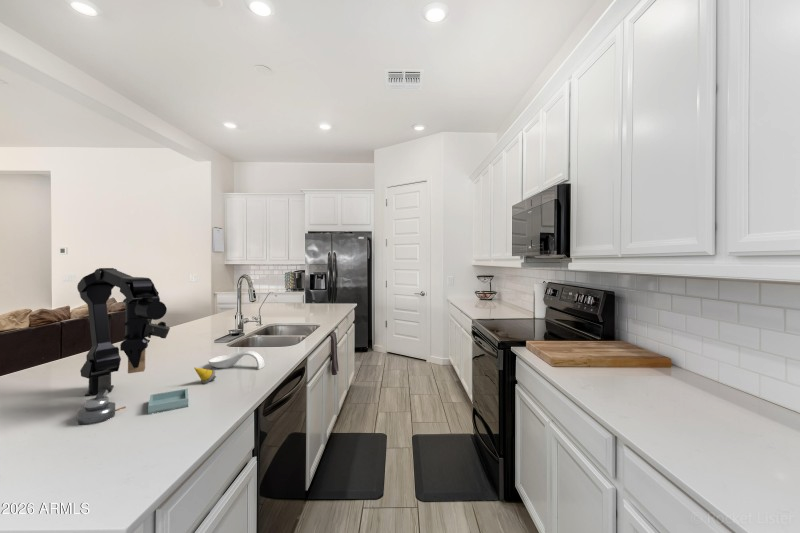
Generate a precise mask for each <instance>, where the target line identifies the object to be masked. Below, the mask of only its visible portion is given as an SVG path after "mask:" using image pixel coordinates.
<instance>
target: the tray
mask: <svg viewBox="0 0 800 533" xmlns="http://www.w3.org/2000/svg"><path fill="white" fill-rule="evenodd" d="M188 407H189V389H188V388H182V389H176V390H170V391H165V392H164V391H163V392H160V393H153V394H150V395H149V399H148V407H147V415H148V414H149V415H152V413H154V414H158V413H157V412H159V413H163V411H164V412H168V411H173V410H179V409H183V408H188Z"/></svg>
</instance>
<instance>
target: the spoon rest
mask: <svg viewBox="0 0 800 533" xmlns="http://www.w3.org/2000/svg"><path fill="white" fill-rule="evenodd" d="M244 356H251V357H253V358H254V359H255V362H256V367H257V370H261V369H263V368H264V367H265V366H266V364H265V360H264V358H263V357H262V356H261V354H259V353H258V352H256V351H253V350H245V351H243V352H239V353H234V354H224V355H219V356H215V357H213V358H211V359H209V360H208V361H207V362H208V363H209V365H211V367H212V368H213V367H214V368H217V369H229V368H233V366H234V365H236V364H237V363H238V362H239V361H240V359H242V358H243V357H244Z"/></svg>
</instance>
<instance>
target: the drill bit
mask: <svg viewBox="0 0 800 533" xmlns="http://www.w3.org/2000/svg"><path fill="white" fill-rule="evenodd" d="M193 370H195V372H196V373H197V375H198V377H199V378H200V381H201V383H203V384H204V385H206V384H208V383H209V382H211V381H213V382H214V381H215V379H216V378H217V375H215V374H216V370H214V369H212V368H211V369H206V368H200V367H193Z"/></svg>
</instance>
